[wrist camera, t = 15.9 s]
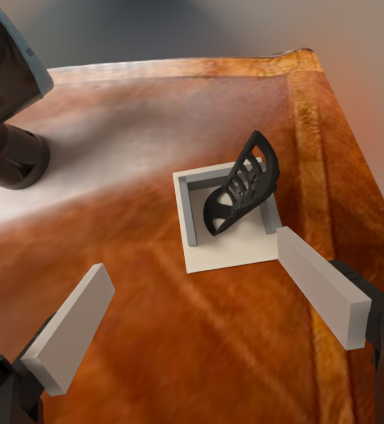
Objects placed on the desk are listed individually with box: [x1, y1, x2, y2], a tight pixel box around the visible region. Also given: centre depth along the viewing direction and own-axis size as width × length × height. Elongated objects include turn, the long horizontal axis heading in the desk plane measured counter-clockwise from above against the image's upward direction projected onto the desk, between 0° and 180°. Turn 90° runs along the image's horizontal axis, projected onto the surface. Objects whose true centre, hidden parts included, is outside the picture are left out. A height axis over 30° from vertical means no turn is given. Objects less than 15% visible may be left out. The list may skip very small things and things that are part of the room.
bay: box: [173, 157, 282, 273], centre depth 38 cm, size 22×20×6 cm
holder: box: [203, 130, 280, 236], centre depth 30 cm, size 11×8×20 cm
